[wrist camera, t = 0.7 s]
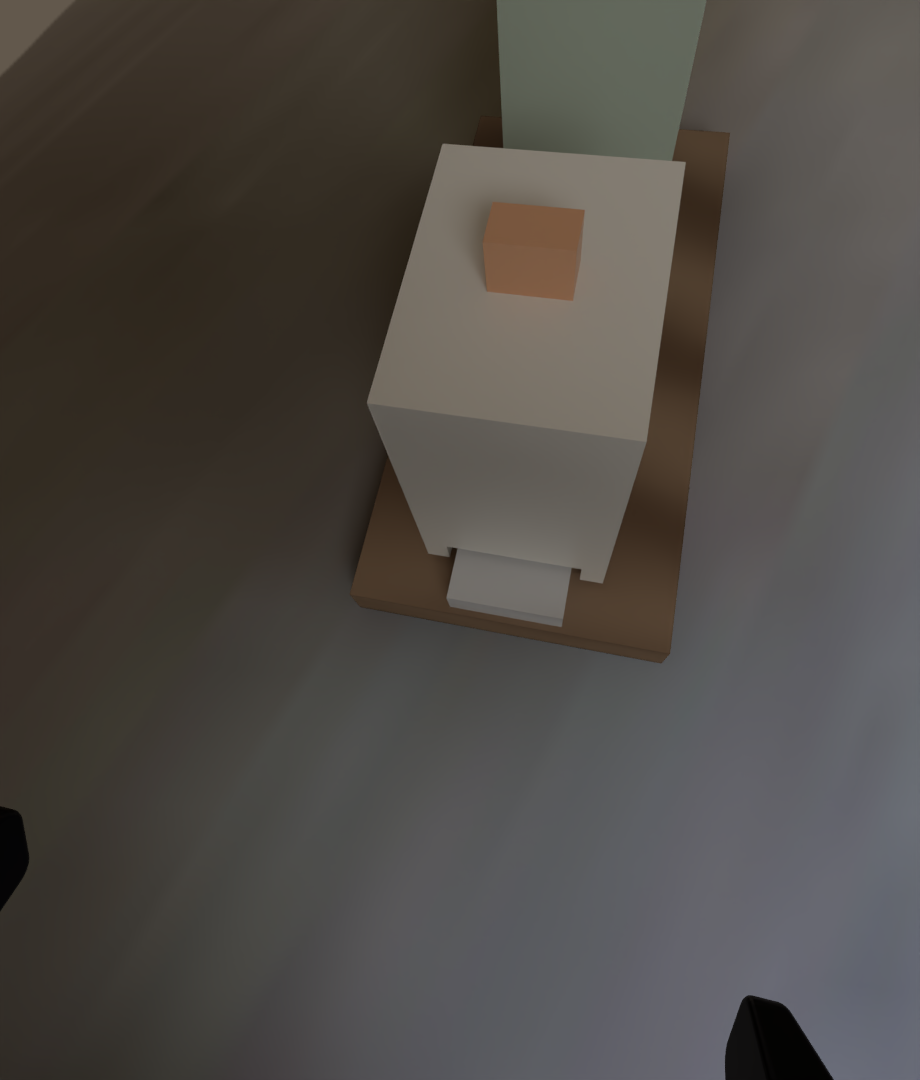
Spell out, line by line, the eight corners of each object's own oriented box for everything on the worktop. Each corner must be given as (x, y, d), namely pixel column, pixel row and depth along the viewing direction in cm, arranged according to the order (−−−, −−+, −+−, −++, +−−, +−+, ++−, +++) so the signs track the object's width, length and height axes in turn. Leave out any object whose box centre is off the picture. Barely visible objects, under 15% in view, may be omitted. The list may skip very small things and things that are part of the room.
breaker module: (602, 583, 22) (659, 401, 12) (428, 553, 23) (349, 362, 13) (632, 388, 24) (699, 102, 14) (473, 367, 25) (434, 86, 15)
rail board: (661, 663, 22) (676, 646, 20) (360, 607, 24) (341, 585, 22) (720, 165, 29) (736, 109, 27) (483, 147, 31) (479, 93, 29)
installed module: (654, 241, 26) (712, -28, 18) (506, 227, 27) (495, -35, 19) (672, 122, 28) (732, -172, 20) (534, 112, 29) (535, -172, 20)
